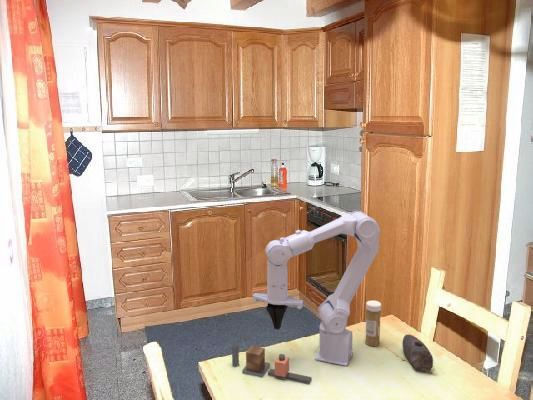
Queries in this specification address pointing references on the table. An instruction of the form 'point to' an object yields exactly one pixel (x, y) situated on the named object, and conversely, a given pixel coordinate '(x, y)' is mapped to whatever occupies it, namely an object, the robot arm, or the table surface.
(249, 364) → the block
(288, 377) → the rail
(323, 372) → the table surface
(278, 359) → the lever handle
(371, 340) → the sprinkles bottle
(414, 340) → the perforated stone tool
